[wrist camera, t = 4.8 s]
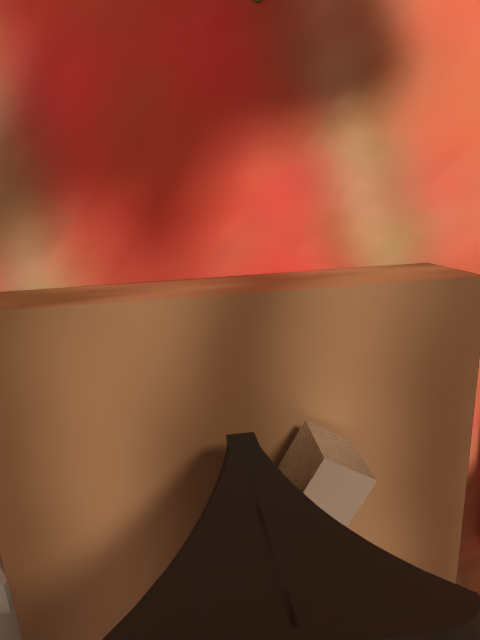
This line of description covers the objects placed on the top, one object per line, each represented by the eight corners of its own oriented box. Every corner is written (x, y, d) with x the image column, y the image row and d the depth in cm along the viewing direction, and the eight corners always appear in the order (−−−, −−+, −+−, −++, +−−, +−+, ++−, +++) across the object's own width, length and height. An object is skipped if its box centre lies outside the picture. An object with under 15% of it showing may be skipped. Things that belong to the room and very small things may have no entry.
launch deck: (427, 263, 14) (487, 276, 11) (399, 692, 19) (435, 778, 16) (-1, 292, 13) (-61, 315, 10) (93, 737, 18) (72, 838, 15)
